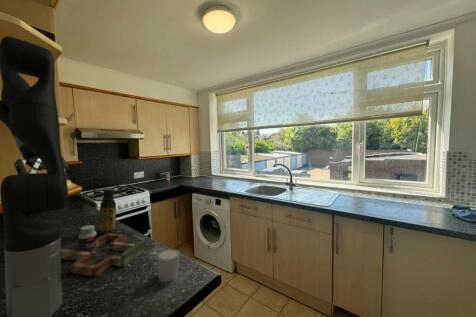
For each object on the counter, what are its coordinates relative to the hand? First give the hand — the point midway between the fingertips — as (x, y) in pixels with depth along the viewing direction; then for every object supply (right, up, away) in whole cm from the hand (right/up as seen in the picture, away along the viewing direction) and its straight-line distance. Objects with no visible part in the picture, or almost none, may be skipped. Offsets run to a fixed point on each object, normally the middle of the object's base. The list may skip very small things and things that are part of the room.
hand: (52, 182), depth 74 cm
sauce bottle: (+9, -25, +18) cm, 32 cm away
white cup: (+47, -28, -11) cm, 56 cm away
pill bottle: (+13, -26, 0) cm, 29 cm away
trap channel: (+19, -26, -1) cm, 32 cm away
